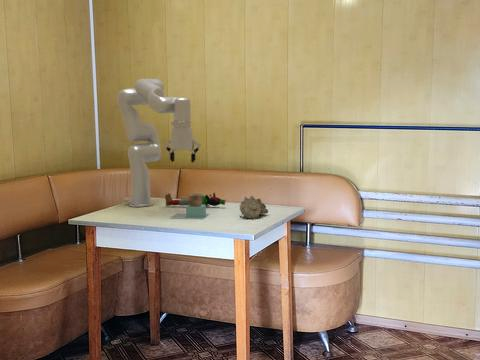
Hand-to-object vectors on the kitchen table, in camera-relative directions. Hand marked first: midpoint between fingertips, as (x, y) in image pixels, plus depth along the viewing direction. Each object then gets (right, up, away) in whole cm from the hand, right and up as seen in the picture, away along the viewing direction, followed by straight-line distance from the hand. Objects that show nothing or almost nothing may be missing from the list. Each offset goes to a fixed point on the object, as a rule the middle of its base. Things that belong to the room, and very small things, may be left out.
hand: (182, 161), depth 279 cm
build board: (+4, -26, -4) cm, 26 cm away
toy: (+5, -23, +21) cm, 32 cm away
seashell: (+33, -26, -4) cm, 42 cm away
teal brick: (+7, -25, -5) cm, 26 cm away
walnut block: (+6, -20, -5) cm, 22 cm away
